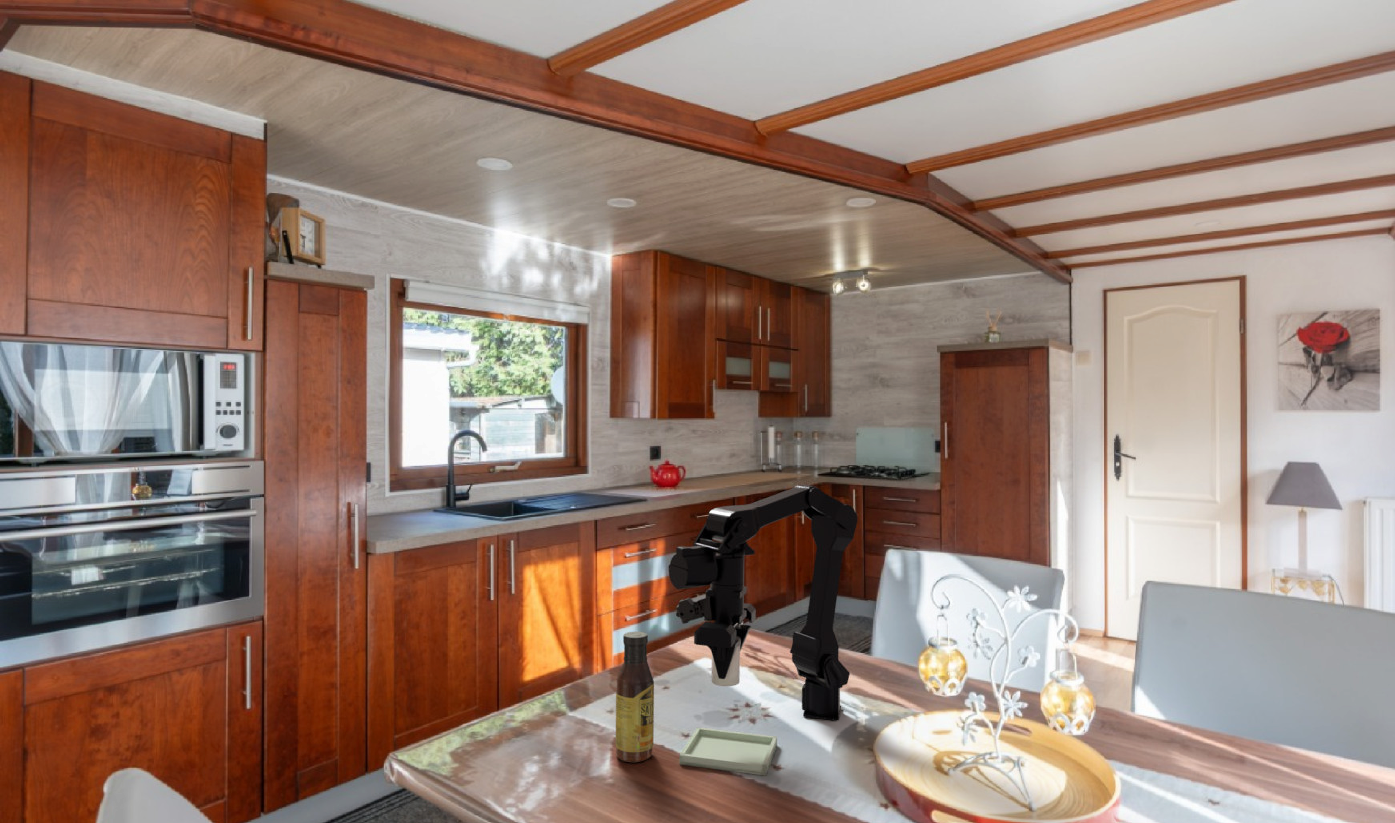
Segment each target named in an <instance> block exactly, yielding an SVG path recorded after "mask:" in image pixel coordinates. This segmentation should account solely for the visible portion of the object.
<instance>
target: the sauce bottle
mask: <svg viewBox="0 0 1395 823" xmlns="http://www.w3.org/2000/svg"><path fill="white" fill-rule="evenodd" d="M648 639H649V638H648V633H646V632H644V631H629V632H625V633H624V634H623V638H622V640H623V641H622V642H623V646H624V647H623V648H624V651H623V663H622V665H621V667H620V668H619V670H618V672H617V675H616V676H617V677H616V692H615V748H616V750H615V753H616V754H615V755H616V757H617V758H618V759H619V760H621V761H622V762H627V763H640V762H643V761H646V760H648V759H650V758H651V757H652V756H653V748H654V730H655V728H654V727H655V726H654V722H655V721H654V720H655V714H654V711H655V681H654V678H653V675H652V672H651V670H650V666H649V663H648V657H647V655H648V654H647V651H648V650H647V649H648V648H647V645H648V643H649V642H648V641H649V640H648Z"/></svg>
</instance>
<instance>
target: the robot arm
mask: <svg viewBox="0 0 1395 823" xmlns="http://www.w3.org/2000/svg"><path fill="white" fill-rule="evenodd" d="M800 512H802V514H803V515H804V516H805V517H806V518H808V519H809V520H810V522H811V523H810V524H811V526H810V528H811V529H810V532H811V535H812V538H813V540H814V543H815V546H816V551H815V558H814V565H813V573H812V581H811V588H810V593H809V599H808V600H809V602H808V608H807V614H806V622H805V624H804V626H803V627H802V628H801V629H800V631H794V632H793V634H792V645H791V648H790V650H789V653H790V654H791V661H792V663H793V664H794V666H795V668H796V671H797V675H798V676H799V677H802V678H804V684H803V685H802V688H801V709H802V711H803V715H802V716H803V717H804V718H810V719H819V720H828V721H829V720H830V721H839V720H840V717H841V716H840V715H841V711H842V705H841V689H842V688H843V687H844V686H845V685H848V683H849V680H850V675H851V674H850V671H849V670H848V669H847V668H846V667H845V666H844V664H842V662H841V661H840V660H839V649H840V648H839V644H838V640H837V637H836V634H835V631H834V621H835V616H836V614H835V612H836V607H837V599H838V592H839V591H838V590H839V585H840V578H841V570H842V562H843V557H844V556H843V555H844V551H845V550H846V549H847V547H848V546H849V545H850V544H851V543H852V541H853V540H854V537H855V531H856V529H857V524H858V513H857V512H856V511H855V509H854V507H853V506H852V505H850V504H846V503H843V501H840V500H839V499H836V498H834V497H832V496H831V495H829V494H827V493H825V492H824V491H822V490H821V489H820V488H819V487H817V486H815V485H808V484H798V485H797V484H796V486H794V487H793V488H790V489H788V490H784V491H781V492H779V493H776V494H774V495H770V496H769V497H766V498H763V499H760V500H757V501H755V502H752V503H748V504H739V505H726V506H719V507H715V508H713V509H711V510H710V511H709V512H708V516H707V518H706V521H705V523H704V525H703V526H702V528H701V530H700V531H699V533H698V535H697V536H696V539H695V540H694V541H693V544H692V546H684V545H683V546H676V548H675V554H674V555H673V556H672V557H671V559H670V563H669V564H668V576H669V580H670V582H671V584H672V586H673V587H674V588H675V589H676V590H686V589H692V588H701V587H706V586H710V587H709V588H708V589H707V590H705V594H702V595H699V596H696V597H693V598H691V597H687V598H686V599H681V600H679V601H678V605H677V606H676V608H675V609H676V613H675V616H676V617H677V618H679V619H680V620H681V623H682V624H683V625H685V624H688V623H689V622H691V621H694V620H698V619H702V618H704V621H705V622H704V623H703V624H701V625H700V626H698V627H697V629H696V630H695V631H694V632H693V644H694V645H695V646H706V647H707V648H709V649H710V652H711V656H712V655H713V659H714V662H715V666H716V670H717V674H718V677H719V679H725V678H726V675H727V673H728V670H729V667H730V665H731V662H732V659H733V656H734V653H735V651H736V648H737V645H738V643H739V640H736V636H738V637H740V638H741V644H740V652H741V651H742V649H743V647H744V644H745V642H746V639H747V637H748V634H749V633H750V630H751V628H752V626H751V625H750V624H753V623H754V622H755V621H756V619H757V618H756V616H757V615H756V613H757V612H756V611H757V610H756V608H755V606H754V605H753V604H751V603H745V601H744V600H745V598H744V597H745V595H746V594H747V590H748V588H747V586H745V556H753V555H755V553H756V551H755V550H754V548H752V547H751V546H750V545H749V544H748V543H747V542H748V541H749V540H751V539H752V538H754V537H755V536H756V535H757V534H758V533H759V530H761V529H762V528H763V527H765V526H768V525H770V524H772V523H776V522H777V521H781V520H783V519H785V518H788V517H791V516H793V515H797V514H798V513H800ZM745 619H746V620H747V619H748V623H750V624H744V620H745Z"/></svg>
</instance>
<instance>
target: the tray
mask: <svg viewBox="0 0 1395 823" xmlns="http://www.w3.org/2000/svg"><path fill="white" fill-rule="evenodd" d="M777 747H778V736H774V735H765V734H756V733H750V732H740V731H739V732H738V731H734V730H733V731H732V730H724V729H714V728H707V727H698V726H697V727H696V729H695V730H694V732H693V734H692V735H691V736H690V738H689V740H688V741H687V743H686V745H685V746H684V747H683V749H682V750H681V752H680V754H679V765H683V766H690V767H698V768H706V769H713V770H721V771H728V772H735V773H741V774H742V773H743V774H750V775H751V774H752V775H757V776H765V777H766V776H767V773H768V770H769V768H770V766H771V763H772V759H773V757H774V754H775V752H776V749H777Z"/></svg>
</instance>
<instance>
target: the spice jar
mask: <svg viewBox="0 0 1395 823" xmlns="http://www.w3.org/2000/svg"><path fill="white" fill-rule="evenodd" d="M736 640H739V643H738V645H737V648H736V651H735V653H734V656H733V659H732V662H731V665H730V667H729V670H728V673H727V675H726V678H725V679H719V677H718V674H717V670H716V666H715V662H714V659H713V655H712V654H711V683H712V684H714V685H715V686H720V687H734V686H737V685H739V684H740V677H741V673H740V670H741V668H740V667H741V666H740V665H741V661H740V660H741V651H740V644H741V638H740V637H738V636H736Z"/></svg>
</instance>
